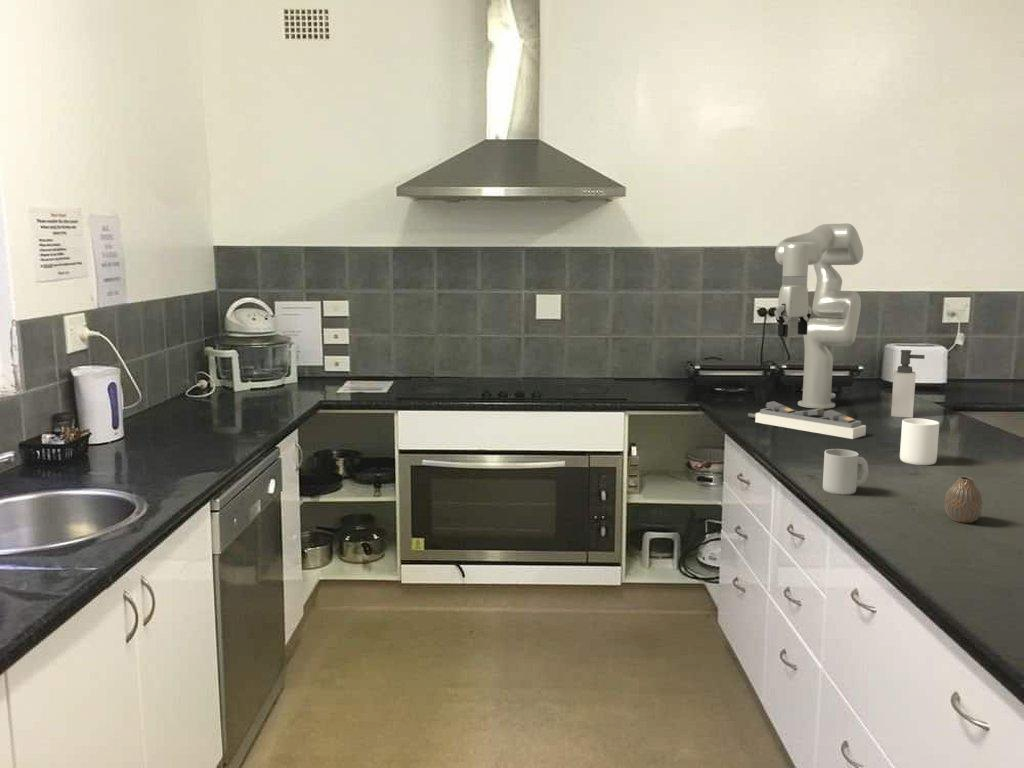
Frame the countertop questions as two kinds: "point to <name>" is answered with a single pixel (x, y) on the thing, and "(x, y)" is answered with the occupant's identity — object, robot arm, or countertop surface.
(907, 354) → the soap dispenser
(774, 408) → the rocker
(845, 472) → the cup
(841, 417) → the rocker
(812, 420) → the power strip
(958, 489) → the vase
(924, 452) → the mug
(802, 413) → the rocker
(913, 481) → the countertop surface
